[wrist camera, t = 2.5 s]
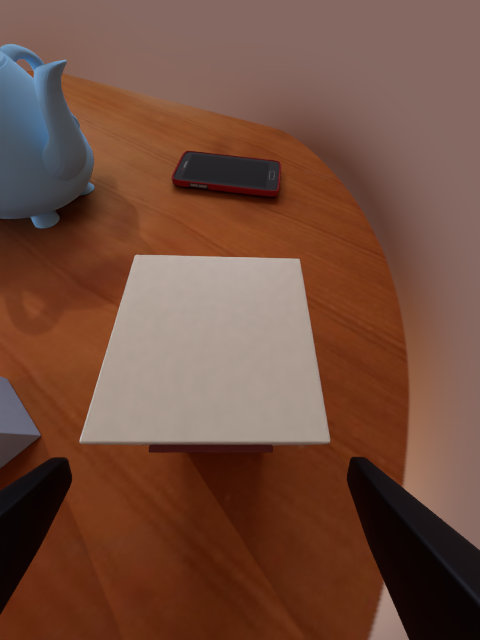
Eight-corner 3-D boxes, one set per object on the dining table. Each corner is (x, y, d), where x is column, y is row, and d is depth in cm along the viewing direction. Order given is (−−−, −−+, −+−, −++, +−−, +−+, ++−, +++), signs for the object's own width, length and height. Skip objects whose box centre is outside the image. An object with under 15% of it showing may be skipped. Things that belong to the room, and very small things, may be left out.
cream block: (263, 449, 17) (333, 453, 5) (181, 449, 17) (74, 453, 5) (260, 366, 20) (300, 258, 8) (190, 365, 20) (134, 253, 8)
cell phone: (277, 199, 31) (279, 192, 30) (171, 186, 32) (169, 179, 31) (280, 168, 35) (281, 161, 34) (185, 157, 35) (184, 149, 34)
